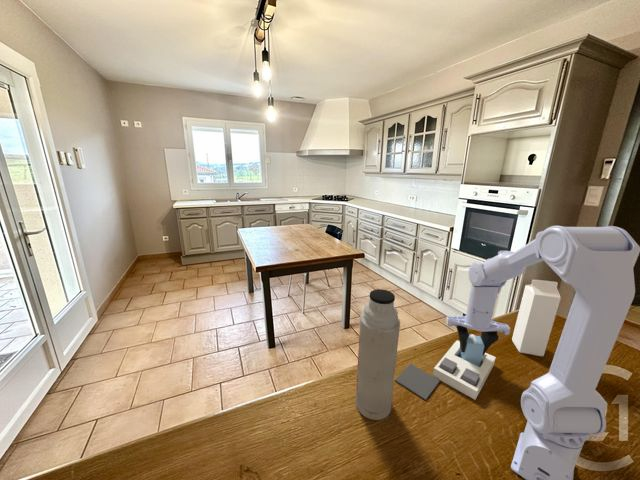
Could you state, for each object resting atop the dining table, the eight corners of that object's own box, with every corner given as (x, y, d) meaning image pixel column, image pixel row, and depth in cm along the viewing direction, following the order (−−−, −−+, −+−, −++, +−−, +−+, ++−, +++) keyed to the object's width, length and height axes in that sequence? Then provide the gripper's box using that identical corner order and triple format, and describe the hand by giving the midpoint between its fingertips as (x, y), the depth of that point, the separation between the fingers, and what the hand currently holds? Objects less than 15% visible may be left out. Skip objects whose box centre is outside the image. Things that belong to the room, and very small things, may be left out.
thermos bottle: (349, 409, 59) (355, 297, 51) (363, 384, 66) (370, 281, 58) (384, 427, 55) (396, 308, 47) (395, 398, 62) (407, 290, 54)
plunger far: (450, 380, 66) (452, 369, 66) (438, 373, 69) (440, 363, 68) (455, 373, 68) (457, 363, 68) (443, 367, 71) (445, 357, 70)
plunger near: (473, 392, 63) (475, 381, 62) (460, 385, 65) (462, 374, 64) (477, 385, 65) (479, 374, 64) (464, 378, 67) (466, 368, 66)
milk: (511, 340, 82) (527, 274, 76) (534, 343, 81) (552, 277, 75) (519, 352, 77) (537, 283, 71) (544, 357, 75) (564, 286, 69)
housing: (475, 400, 61) (477, 391, 61) (432, 376, 68) (434, 368, 68) (493, 364, 72) (495, 357, 71) (455, 347, 79) (456, 339, 78)
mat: (425, 400, 61) (425, 399, 61) (394, 380, 67) (395, 379, 67) (439, 381, 67) (439, 380, 66) (410, 364, 72) (410, 363, 72)
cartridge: (479, 369, 70) (484, 344, 68) (462, 366, 72) (467, 341, 69) (475, 359, 74) (480, 335, 72) (459, 356, 75) (464, 332, 73)
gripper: (506, 303, 70) (496, 346, 74) (446, 296, 73) (440, 337, 77) (517, 318, 63) (506, 364, 67) (452, 309, 67) (444, 354, 71)
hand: (471, 351), depth 72 cm, fingers closed on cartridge, 4 cm apart
